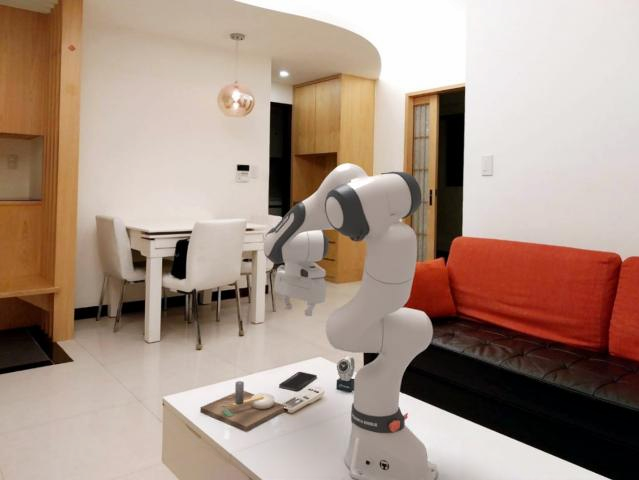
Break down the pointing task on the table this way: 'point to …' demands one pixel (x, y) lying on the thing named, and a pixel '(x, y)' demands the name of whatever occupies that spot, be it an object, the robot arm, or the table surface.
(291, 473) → the table surface
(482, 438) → the table surface
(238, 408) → the gauge panel
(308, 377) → the phone
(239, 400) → the dial knob with pointer
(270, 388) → the table surface
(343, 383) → the watch
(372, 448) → the robot arm
